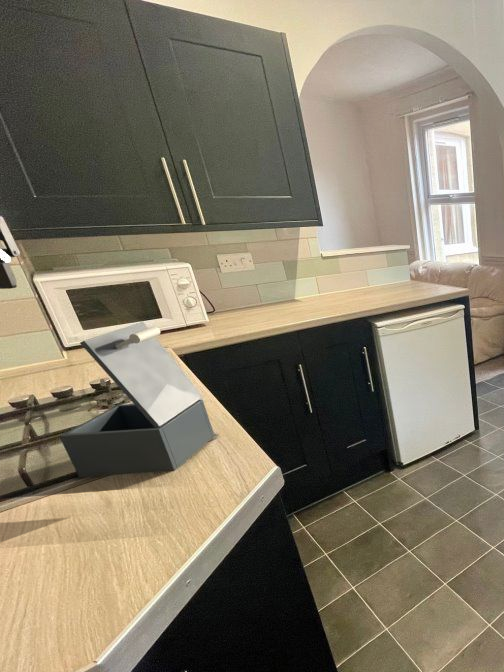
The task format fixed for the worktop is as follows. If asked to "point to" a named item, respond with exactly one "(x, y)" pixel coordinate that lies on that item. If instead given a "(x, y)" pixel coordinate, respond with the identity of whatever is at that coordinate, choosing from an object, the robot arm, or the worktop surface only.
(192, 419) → the storage box
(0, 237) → the robot arm
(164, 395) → the lid
